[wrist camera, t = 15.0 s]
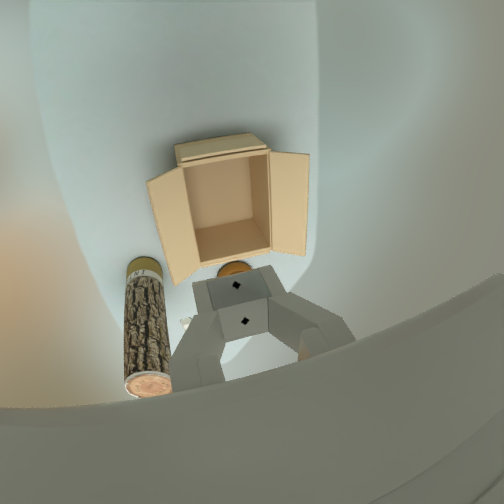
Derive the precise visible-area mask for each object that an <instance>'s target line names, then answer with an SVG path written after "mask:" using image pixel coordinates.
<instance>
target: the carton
mask: <svg viewBox="0 0 504 504" xmlns="http://www.w3.org/2000/svg"><path fill="white" fill-rule="evenodd" d="M174 148H175V155H176V161H177V166H181V167H182V172H183V178H184V184H185V190H186V195H187V201H188V206H189V212H190V217H191V222H192V227H193V232H194V237H195V242H196V247H197V252H198V257H199V262H200V266H201V267H202V268H204V267H208V266H213V265H217V264H222V263H226V262H230V261H235V260H239V259H244V258H248V257H253V256H257V255H262V254H266V253H270V250H273V244H272V207H271V176H270V151H271V148H269V147H268V146H267V145H266V144H265V143H263V142H262V141H261V140H259V139H258V138H257V137H256V136H254V135H253V134H251V133H250V132H249V133H241V134H234V135H227V136H220V137H214V138H208V139H202V140H196V141H191V142H185V143H180V144H175V145H174Z"/></svg>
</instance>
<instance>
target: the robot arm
mask: <svg viewBox="0 0 504 504" xmlns="http://www.w3.org/2000/svg"><path fill="white" fill-rule="evenodd" d="M192 287H193V292H194V297H195V302H196V307H197V311H198V315H194V317H193V319H192V320H191V322H190V324H189V326H188V328H187V330H186V331H185V333H184V335H183V337H182V339H181V341H180V342H179V344H178V346H177V348H176V350H175V352H174V353H173V355H172V357H171V359H170V361H169V363H168V365H169V372H170V380H171V387H172V393H170V394H164V395H158V396H152V397H146V398H140V399H133V400H125V401H118V402H109V403H100V404H90V405H77V406H62V407H37V408H7V407H6V408H5V407H0V504H504V274H502V273H496V274H494V275H492V276H490V277H489V278H487V279H485V280H484V281H482V282H480V283H478V284H477V285H475V286H473V287H471V288H469V289H468V290H466V291H464V292H462V293H461V294H458V295H456V296H455V297H453V298H451V299H449V300H447V301H445V302H443V303H441V304H439V305H437V306H435V307H433V308H431V309H429V310H427V311H425V312H423V313H420V314H418V315H416V316H414V317H412V318H410V319H407V320H405V321H403V322H401V323H398V324H396V325H394V326H391V327H389V328H387V329H384V330H382V331H380V332H377V333H375V334H372V335H370V336H367V337H365V338H362V339H360V340H356V339H355V337H354V335H353V334H352V332H351V331H350V329H349V328H348V326H347V325H346V323H345V322H344V320H343V318H342V317H340V316H338V315H336V314H334V313H332V312H330V311H328V310H326V309H324V308H322V307H320V306H318V305H316V304H314V303H312V302H310V301H308V300H306V299H304V298H302V297H300V296H298V295H296V294H293V293H292V292H288V293H286V291H285V289H284V287H283V285H282V283H281V282H280V280H279V278H278V276H277V274H276V273H275V271H274V269H273V267H272V266H271V265H268V266H264V267H260V268H257V269H253V270H248V271H244V272H240V273H236V274H232V275H227V276H222V277H217V278H212V279H207V280H203V281H198V282H193V283H192ZM265 332H269V333H271V334H272V335H273V336H275V337H276V338H277V339H279V340H280V341H281V342H283V343H284V344H286V345H287V346H288V347H290V348H291V349H293V350H294V351H295V352H297V353H298V362H295V363H292V364H289V365H285V366H282V367H278V368H275V369H272V370H268V371H265V372H261V373H258V374H254V375H250V376H246V377H243V378H239V379H234V380H230V381H225V378H224V375H223V371H222V368H221V364H220V359H221V356H222V353H223V350H224V347H225V343H226V342H230V341H233V340H237V339H241V338H244V337H248V336H252V335H256V334H261V333H265Z"/></svg>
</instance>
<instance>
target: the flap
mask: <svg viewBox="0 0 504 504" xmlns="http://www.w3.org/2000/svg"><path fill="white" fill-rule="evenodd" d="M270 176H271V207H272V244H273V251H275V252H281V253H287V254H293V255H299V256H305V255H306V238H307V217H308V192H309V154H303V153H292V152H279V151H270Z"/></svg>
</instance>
